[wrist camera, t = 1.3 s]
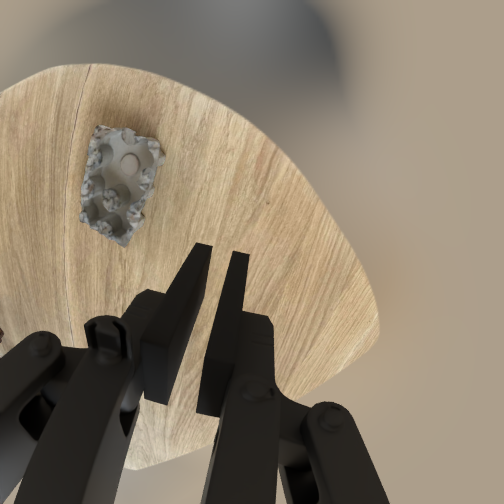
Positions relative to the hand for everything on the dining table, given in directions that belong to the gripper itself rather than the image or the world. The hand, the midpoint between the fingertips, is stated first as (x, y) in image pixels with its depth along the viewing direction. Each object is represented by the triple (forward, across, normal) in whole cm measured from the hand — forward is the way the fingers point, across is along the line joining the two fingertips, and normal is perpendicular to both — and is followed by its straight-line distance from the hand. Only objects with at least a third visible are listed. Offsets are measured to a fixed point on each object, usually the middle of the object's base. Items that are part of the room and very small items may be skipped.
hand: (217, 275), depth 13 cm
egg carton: (+15, -12, 0) cm, 19 cm away
